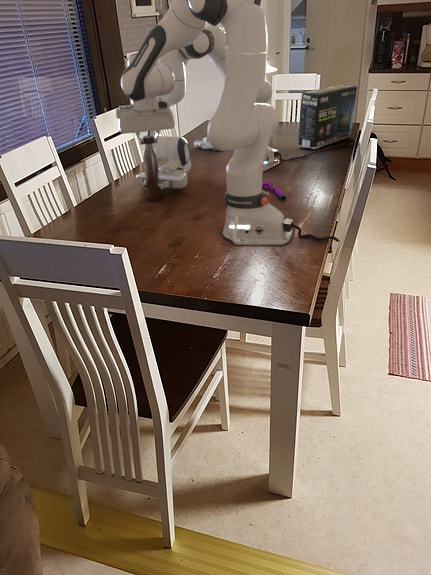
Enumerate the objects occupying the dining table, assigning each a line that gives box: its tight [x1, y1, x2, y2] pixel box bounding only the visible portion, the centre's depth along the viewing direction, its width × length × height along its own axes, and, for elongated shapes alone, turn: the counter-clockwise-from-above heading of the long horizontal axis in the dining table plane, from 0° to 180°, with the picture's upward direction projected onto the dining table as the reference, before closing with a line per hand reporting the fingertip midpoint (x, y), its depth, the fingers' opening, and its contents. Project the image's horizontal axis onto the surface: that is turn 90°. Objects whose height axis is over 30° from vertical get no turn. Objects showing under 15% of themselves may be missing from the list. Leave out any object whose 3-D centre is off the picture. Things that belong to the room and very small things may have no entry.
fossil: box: [193, 134, 218, 152], centre depth 245 cm, size 18×11×15 cm
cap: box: [142, 135, 154, 145], centre depth 168 cm, size 4×4×2 cm
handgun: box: [262, 180, 287, 202], centre depth 181 cm, size 21×8×2 cm, turn 11°
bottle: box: [142, 144, 162, 202], centre depth 174 cm, size 5×5×23 cm
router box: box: [297, 84, 358, 151], centre depth 238 cm, size 36×11×27 cm, turn 134°
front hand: (148, 143), depth 169 cm, fingers closed on cap, 4 cm apart
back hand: (152, 186), depth 177 cm, fingers closed on bottle, 5 cm apart
